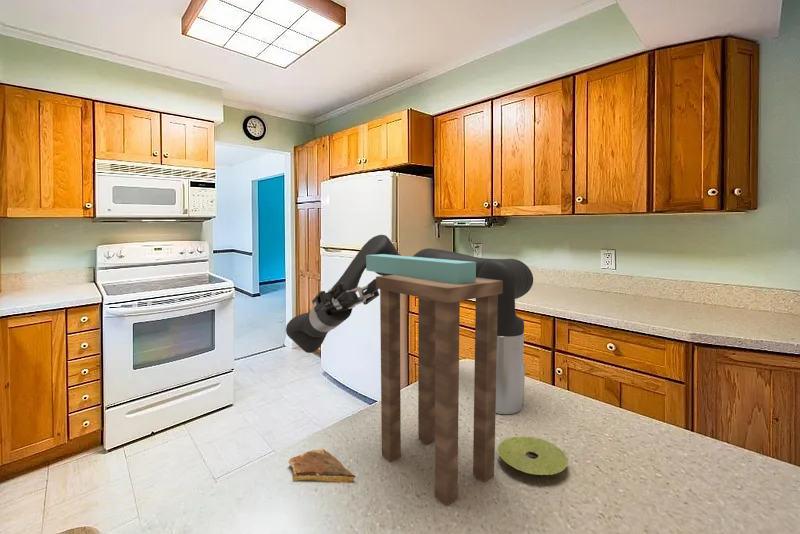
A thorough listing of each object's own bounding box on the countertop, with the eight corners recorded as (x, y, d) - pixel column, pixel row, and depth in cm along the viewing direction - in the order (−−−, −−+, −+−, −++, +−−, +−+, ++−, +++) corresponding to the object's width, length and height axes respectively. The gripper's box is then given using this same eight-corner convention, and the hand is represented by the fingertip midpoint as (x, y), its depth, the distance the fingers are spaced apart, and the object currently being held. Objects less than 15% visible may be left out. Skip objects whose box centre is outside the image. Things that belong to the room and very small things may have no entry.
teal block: (383, 269, 77) (382, 254, 77) (475, 281, 59) (476, 262, 58) (366, 270, 75) (366, 255, 75) (457, 284, 56) (457, 263, 56)
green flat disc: (490, 446, 71) (490, 436, 71) (550, 445, 72) (550, 435, 72) (508, 486, 60) (509, 475, 60) (580, 485, 61) (580, 473, 60)
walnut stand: (427, 433, 76) (428, 271, 73) (498, 476, 63) (502, 280, 60) (377, 455, 69) (375, 276, 66) (446, 509, 55) (447, 288, 52)
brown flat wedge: (356, 485, 62) (355, 474, 61) (311, 506, 57) (311, 495, 57) (323, 454, 70) (323, 445, 70) (282, 471, 65) (282, 461, 65)
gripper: (298, 301, 89) (325, 270, 77) (351, 294, 98) (383, 266, 86) (305, 332, 87) (335, 305, 75) (359, 322, 95) (394, 297, 84)
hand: (361, 284), depth 81 cm, fingers open, 8 cm apart
